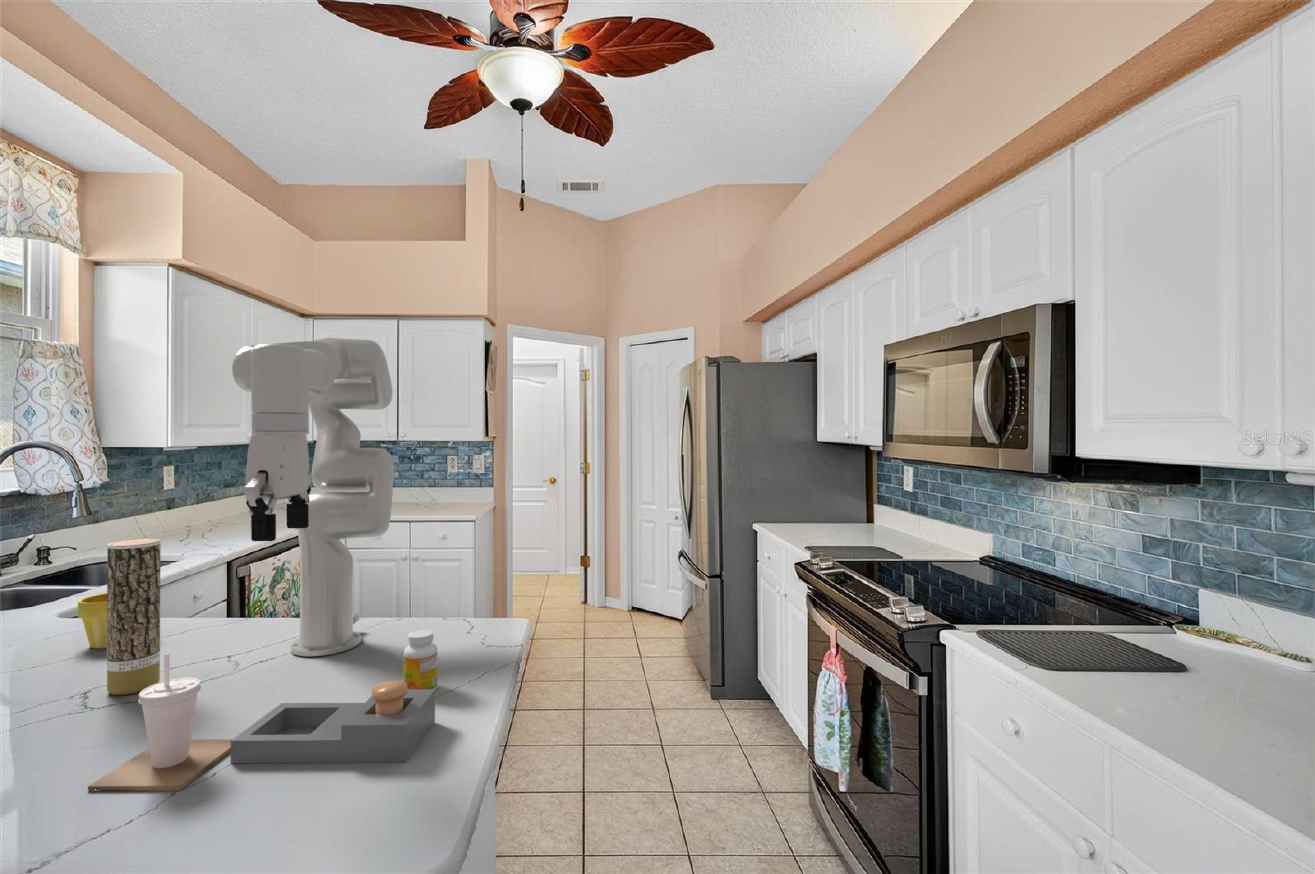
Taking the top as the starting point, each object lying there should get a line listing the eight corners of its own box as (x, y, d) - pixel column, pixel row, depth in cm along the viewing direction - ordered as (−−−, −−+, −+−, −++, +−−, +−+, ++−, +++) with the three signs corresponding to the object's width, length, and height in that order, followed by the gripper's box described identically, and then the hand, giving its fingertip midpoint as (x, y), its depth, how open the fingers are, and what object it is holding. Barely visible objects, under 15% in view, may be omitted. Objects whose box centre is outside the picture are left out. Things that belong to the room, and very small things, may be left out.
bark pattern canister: (170, 679, 104) (170, 538, 104) (137, 696, 98) (138, 545, 98) (130, 679, 104) (131, 538, 104) (95, 697, 97) (95, 545, 97)
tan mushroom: (380, 728, 86) (380, 680, 86) (412, 728, 87) (412, 680, 86) (365, 744, 82) (365, 694, 82) (398, 744, 82) (399, 694, 82)
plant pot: (137, 631, 130) (137, 587, 130) (152, 641, 124) (152, 594, 124) (72, 644, 121) (72, 597, 121) (84, 656, 115) (84, 606, 115)
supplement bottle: (397, 690, 101) (398, 633, 101) (428, 680, 105) (428, 626, 105) (411, 699, 97) (412, 640, 97) (442, 689, 101) (443, 633, 101)
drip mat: (161, 743, 83) (161, 739, 83) (241, 743, 83) (241, 739, 83) (87, 791, 72) (87, 786, 72) (179, 790, 72) (179, 785, 72)
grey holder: (281, 722, 89) (281, 689, 89) (434, 722, 90) (435, 689, 90) (230, 763, 78) (230, 725, 78) (405, 762, 79) (405, 724, 79)
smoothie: (171, 745, 81) (171, 644, 81) (213, 748, 81) (213, 646, 81) (124, 772, 75) (124, 662, 75) (169, 775, 74) (169, 664, 74)
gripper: (285, 423, 100) (285, 523, 101) (219, 425, 83) (220, 546, 83) (331, 424, 101) (331, 523, 101) (275, 426, 83) (276, 546, 84)
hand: (281, 533), depth 92 cm, fingers open, 9 cm apart
